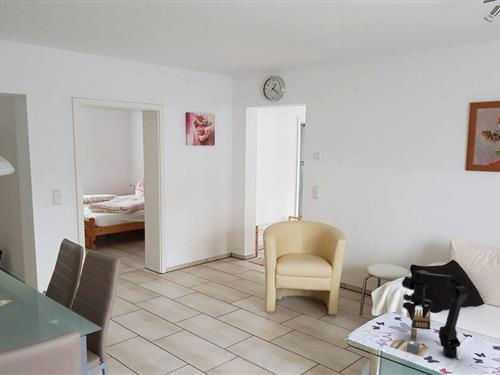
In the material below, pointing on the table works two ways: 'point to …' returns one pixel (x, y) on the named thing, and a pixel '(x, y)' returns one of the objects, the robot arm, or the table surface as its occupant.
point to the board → (402, 345)
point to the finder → (413, 347)
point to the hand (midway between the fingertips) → (417, 319)
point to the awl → (413, 334)
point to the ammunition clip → (421, 321)
